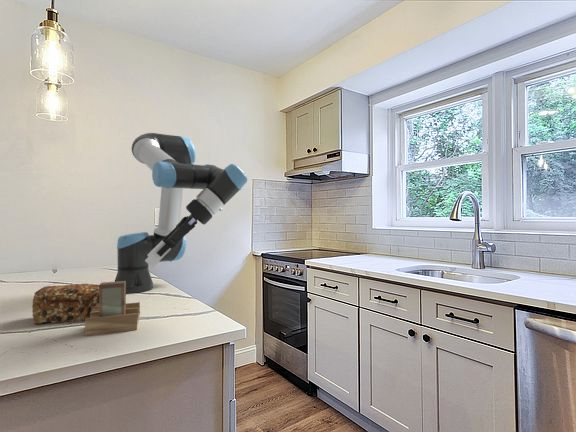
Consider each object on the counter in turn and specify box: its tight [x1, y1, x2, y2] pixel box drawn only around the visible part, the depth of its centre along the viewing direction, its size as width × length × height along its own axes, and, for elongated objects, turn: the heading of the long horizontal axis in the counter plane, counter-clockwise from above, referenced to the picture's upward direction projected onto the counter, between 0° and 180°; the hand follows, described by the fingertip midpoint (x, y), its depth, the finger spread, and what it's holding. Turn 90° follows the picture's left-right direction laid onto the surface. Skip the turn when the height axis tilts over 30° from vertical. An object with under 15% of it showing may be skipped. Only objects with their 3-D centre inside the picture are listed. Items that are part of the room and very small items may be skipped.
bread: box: [31, 283, 100, 325], centre depth 102 cm, size 19×11×10 cm, turn 108°
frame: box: [98, 281, 127, 317], centre depth 92 cm, size 4×6×11 cm
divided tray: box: [84, 301, 141, 337], centre depth 95 cm, size 15×12×4 cm
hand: (149, 260), depth 95 cm, fingers open, 13 cm apart
